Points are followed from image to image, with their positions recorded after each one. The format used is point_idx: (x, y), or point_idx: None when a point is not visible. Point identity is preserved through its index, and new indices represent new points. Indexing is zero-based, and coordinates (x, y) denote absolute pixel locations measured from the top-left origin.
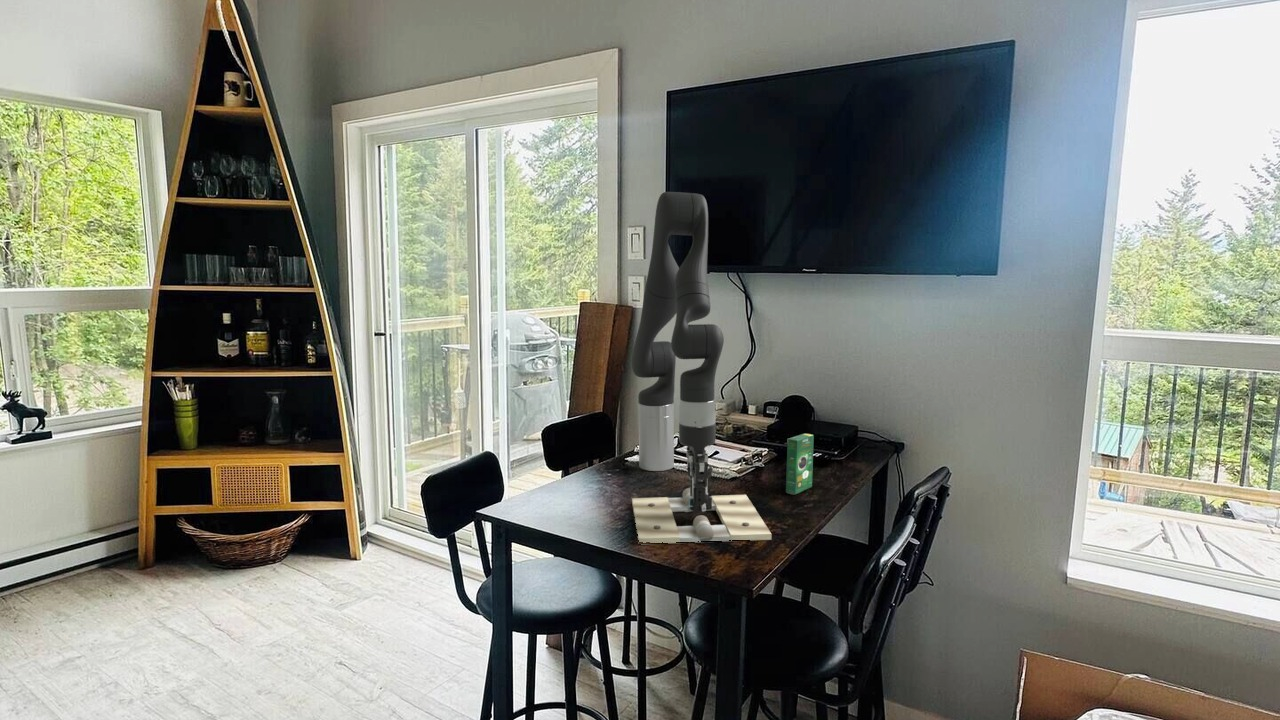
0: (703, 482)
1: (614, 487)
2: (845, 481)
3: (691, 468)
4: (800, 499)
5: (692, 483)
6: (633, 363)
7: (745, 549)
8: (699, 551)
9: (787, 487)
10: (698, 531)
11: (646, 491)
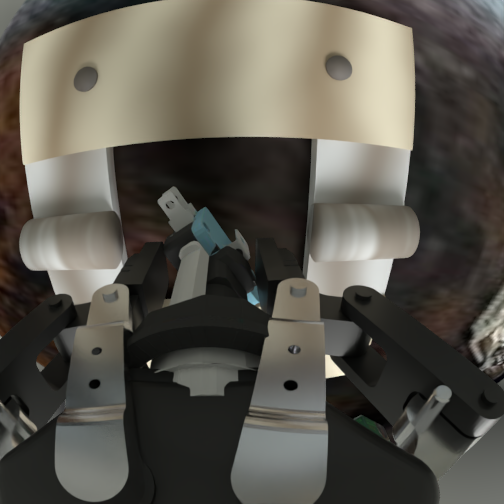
0: (62, 356)
1: (498, 46)
2: None
3: (73, 371)
4: None
5: (188, 289)
6: None
7: None
8: (3, 214)
9: (362, 424)
10: (24, 227)
11: (479, 112)
